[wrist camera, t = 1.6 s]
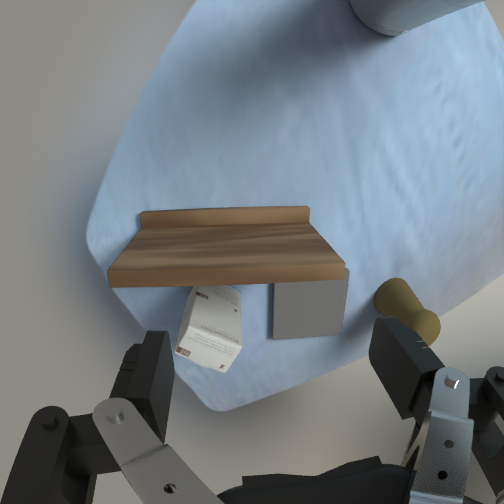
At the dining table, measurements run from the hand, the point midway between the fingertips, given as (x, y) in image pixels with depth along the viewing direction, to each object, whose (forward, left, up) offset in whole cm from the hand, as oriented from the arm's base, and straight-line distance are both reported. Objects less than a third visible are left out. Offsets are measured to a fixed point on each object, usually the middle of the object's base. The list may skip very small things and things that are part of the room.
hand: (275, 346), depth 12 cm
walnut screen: (+3, -2, -28) cm, 28 cm away
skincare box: (+12, -4, -28) cm, 31 cm away
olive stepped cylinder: (+14, +22, -28) cm, 39 cm away
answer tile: (+14, +9, -28) cm, 33 cm away
